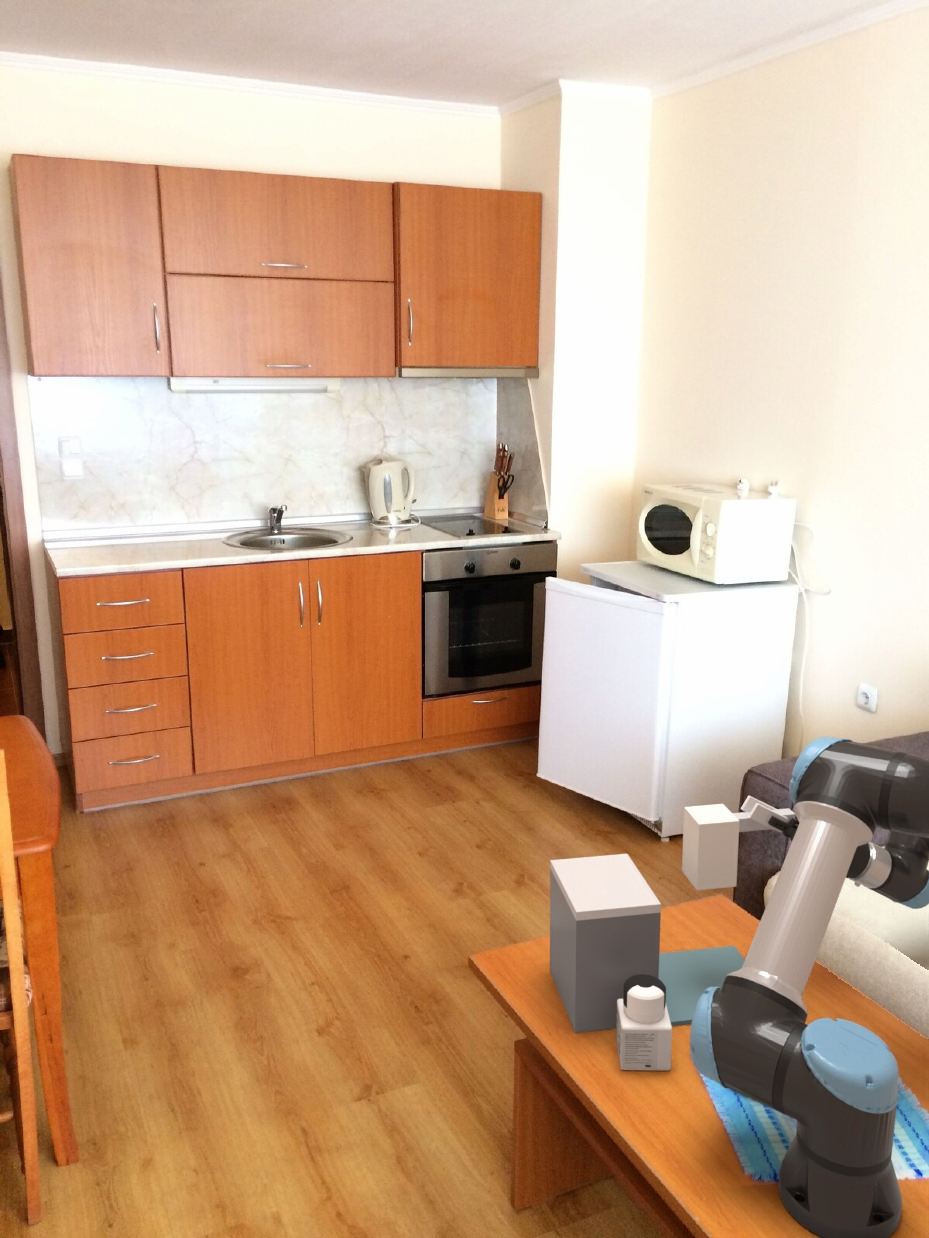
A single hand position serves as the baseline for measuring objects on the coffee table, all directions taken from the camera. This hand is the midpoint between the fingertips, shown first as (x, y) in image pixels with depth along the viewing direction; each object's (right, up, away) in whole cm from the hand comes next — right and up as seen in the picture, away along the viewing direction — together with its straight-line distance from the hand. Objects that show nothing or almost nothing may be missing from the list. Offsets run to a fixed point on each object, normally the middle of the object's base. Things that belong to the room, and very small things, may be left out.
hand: (749, 806), depth 176 cm
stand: (-25, -34, +4) cm, 42 cm away
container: (-20, -38, -11) cm, 44 cm away
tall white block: (-1, -12, +3) cm, 13 cm away
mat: (-6, -33, +7) cm, 34 cm away
